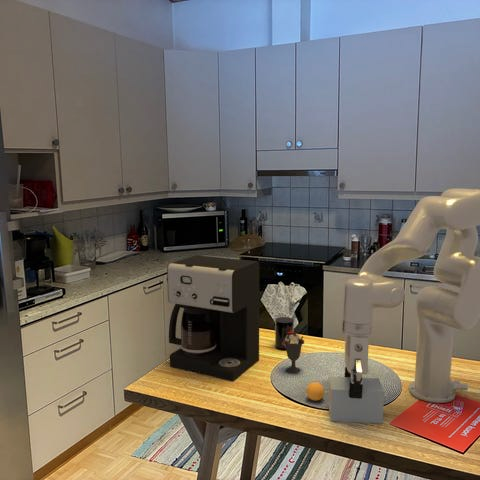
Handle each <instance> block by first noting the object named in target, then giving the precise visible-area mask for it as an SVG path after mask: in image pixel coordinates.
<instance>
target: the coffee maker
mask: <svg viewBox="0 0 480 480" xmlns="http://www.w3.org/2000/svg"><path fill="white" fill-rule="evenodd" d="M166 270H167V271H166V272H167V273H166V275H167V276H166V277H167V278H166V279H167V281H166V282H167V301H168V303H170V304H174V307H173V308H172V311H171V315H170V319H169V327H168V343H169V344H173V345H176V346H180V348H179V349H177V350H175V351H174V352H172V353H170V354H169V367H170V368H174V369H177V370H182V371H185V372H191V373H195V374H199V375H204V376H209V377H212V378H215V379H216V378H217V379H221V380H225V381H229V382H235V381H236V380H237V379H238V378H240V377H241V376H242V375H243V374H244V373H246V372H247V371H248V370H249V369H250V368H252V367H253V366H254V365H255V364H257V363H258V362H259V360H260V262H259V261H257V260H249V259H248V260H247V259H239V258H238V259H237V258H228V257H227V258H226V257H218V256H207V255H197V254H196V255H193V256H189V257H186V258H182V259H180V260H177V261H174V262H171V263H170V262H169V264H168V265H167V268H166ZM180 309H183V312H182V315H181V322H180V323H181V324H180V338H178V337H177V334H176V333H177V322H178V317H179V312H180Z"/></svg>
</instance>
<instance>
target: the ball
mask: <svg viewBox="0 0 480 480" xmlns="http://www.w3.org/2000/svg"><path fill="white" fill-rule="evenodd" d="M305 393H306V395H307V397H308V398H309V399H310V400H311V401H315V402H316V401H320V400H321V399H322V398H323V397H324V394H325V388H324V386H323V385H322V384H321V383H319V382H317V381H313V382H311V383H308V385H307V388H306V390H305Z"/></svg>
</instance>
